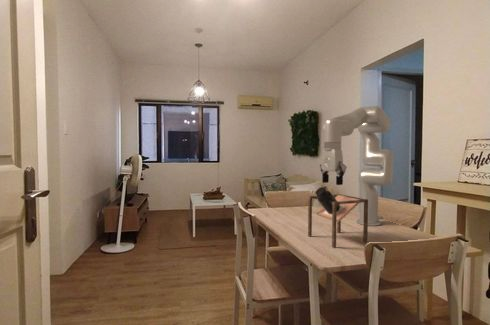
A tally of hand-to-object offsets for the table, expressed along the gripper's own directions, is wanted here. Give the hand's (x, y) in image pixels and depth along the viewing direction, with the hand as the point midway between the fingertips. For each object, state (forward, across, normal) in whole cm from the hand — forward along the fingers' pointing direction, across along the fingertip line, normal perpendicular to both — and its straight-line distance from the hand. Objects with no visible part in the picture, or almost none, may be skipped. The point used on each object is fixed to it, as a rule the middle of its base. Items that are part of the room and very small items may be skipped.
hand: (332, 183), depth 136 cm
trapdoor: (+12, 0, +4) cm, 12 cm away
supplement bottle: (+12, 0, +1) cm, 12 cm away
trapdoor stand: (+26, 0, +3) cm, 26 cm away
